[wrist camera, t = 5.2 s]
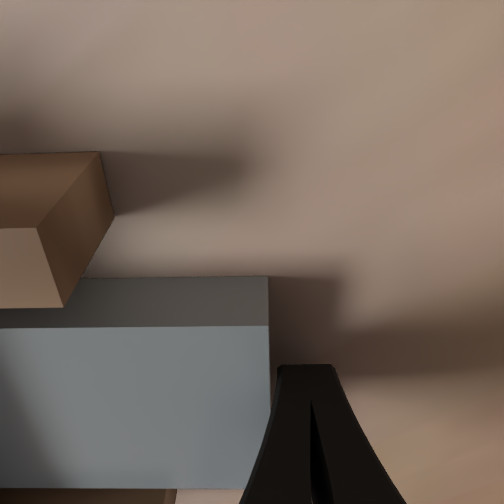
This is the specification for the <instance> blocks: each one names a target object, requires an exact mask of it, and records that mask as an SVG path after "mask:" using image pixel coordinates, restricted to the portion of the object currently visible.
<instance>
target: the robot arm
mask: <svg viewBox="0 0 504 504" xmlns="http://www.w3.org/2000/svg"><path fill="white" fill-rule="evenodd" d="M311 497H312V499H311ZM239 504H406V502H405V501H404V499H403V498H402V496H401V494H400V493H399V491H398V490H397V488H396V487H395V485H394V484H393V482H392V480H391V479H390V477H389V475H388V474H387V472H386V471H385V469H384V467H383V466H382V464H381V462H380V461H379V459H378V457H377V455H376V454H375V452H374V450H373V448H372V447H371V445H370V443H369V441H368V439H367V437H366V436H365V434H364V432H363V430H362V428H361V426H360V425H359V423H358V421H357V419H356V417H355V415H354V413H353V410H352V408H351V406H350V404H349V402H348V400H347V398H346V395H345V393H344V391H343V388H342V386H341V384H340V381H339V378H338V376H337V373H336V370H335V367H333V366H332V365H331V364H301V365H281V366H279V367H278V368H277V382H276V389H275V395H274V400H273V404H272V409H271V413H270V417H269V420H268V424H267V427H266V431H265V434H264V437H263V441H262V444H261V447H260V450H259V453H258V456H257V458H256V461H255V464H254V467H253V469H252V472H251V475H250V478H249V480H248V483H247V485H246V488H245V490H244V493H243V495H242V498H241V500H240V502H239Z"/></svg>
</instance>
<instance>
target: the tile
mask: <svg viewBox="0 0 504 504" xmlns="http://www.w3.org/2000/svg"><path fill="white" fill-rule="evenodd" d="M270 413H271V378H270V337H269V296H268V276H224V277H158V278H91V279H79V281H78V283H77V285H76V286H75V288H74V290H73V292H72V293H71V295H70V297H69V299H68V300H67V302H66V304H65V306H64V308H0V488H136V489H245V488H246V485H247V483H248V480H249V478H250V475H251V472H252V469H253V467H254V464H255V461H256V458H257V456H258V453H259V450H260V447H261V444H262V441H263V437H264V434H265V431H266V427H267V424H268V420H269V417H270Z"/></svg>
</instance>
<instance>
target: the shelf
mask: <svg viewBox="0 0 504 504" xmlns="http://www.w3.org/2000/svg"><path fill="white" fill-rule="evenodd" d="M113 220H114V213H113V209H112V205H111V201H110V196H109V192H108V188H107V183H106V179H105V175H104V171H103V166H102V162H101V158H100V154H99V152H73V153H41V154H9V155H0V308H64V306H65V304H66V302H67V300H68V299H69V297H70V295H71V293H72V292H73V290H74V288H75V286H76V285H77V283H78V281H79V279H80V278H81V276H82V274H83V272H84V271H85V269H86V267H87V265H88V264H89V262H90V260H91V258H92V256H93V255H94V253H95V251H96V249H97V248H98V246H99V244H100V242H101V241H102V239H103V237H104V235H105V234H106V232H107V230H108V228H109V227H110V225H111V223H112V221H113ZM176 494H177V489H136V488H0V504H175V500H176Z"/></svg>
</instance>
